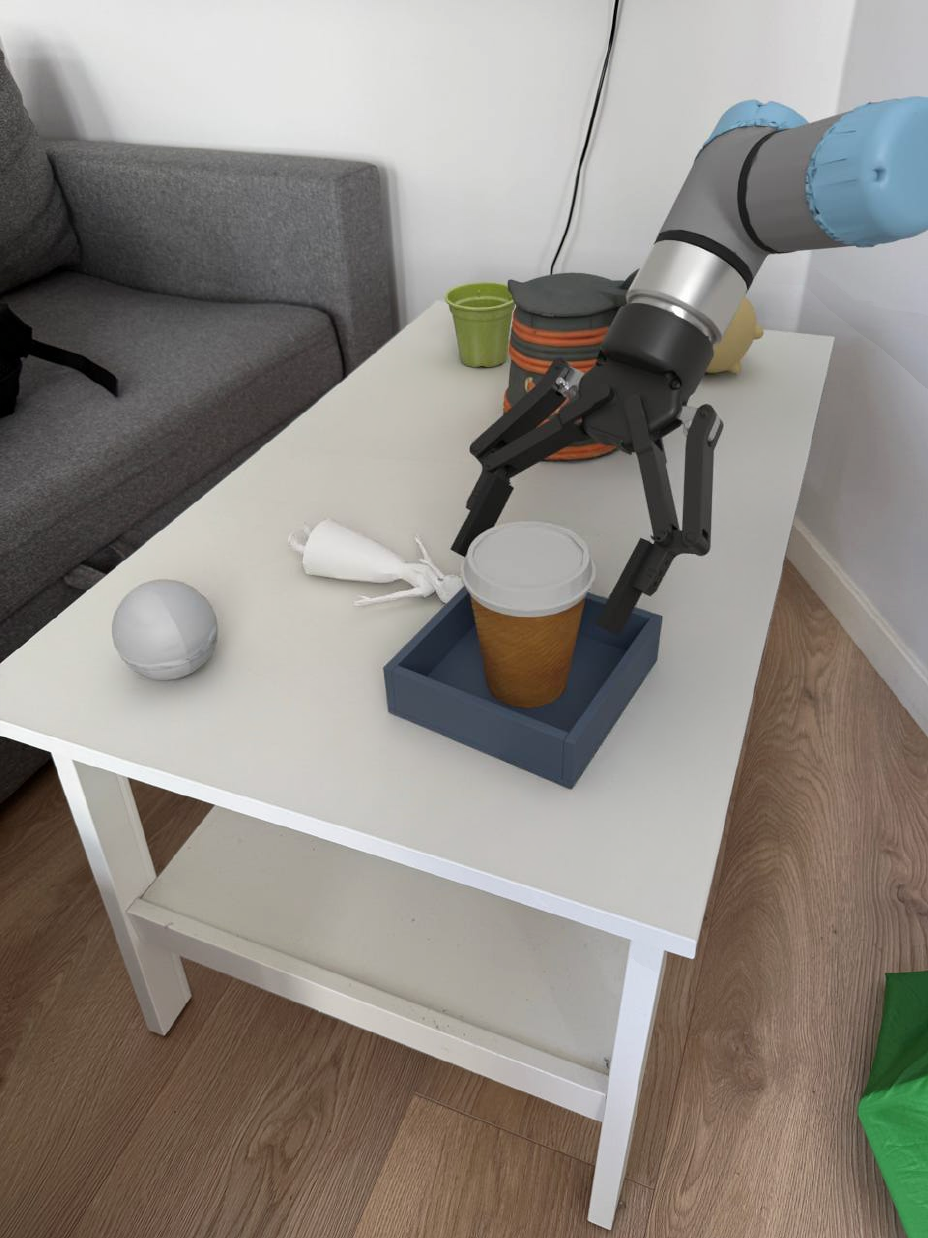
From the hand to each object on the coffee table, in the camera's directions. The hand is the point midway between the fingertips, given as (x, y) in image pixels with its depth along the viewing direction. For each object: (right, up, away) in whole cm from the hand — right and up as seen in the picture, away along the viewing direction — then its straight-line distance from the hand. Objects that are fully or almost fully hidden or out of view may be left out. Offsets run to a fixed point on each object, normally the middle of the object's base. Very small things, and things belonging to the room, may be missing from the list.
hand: (530, 591), depth 66 cm
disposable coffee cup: (0, -7, +6) cm, 9 cm away
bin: (0, -7, +6) cm, 9 cm away
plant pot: (-2, +32, +55) cm, 64 cm away
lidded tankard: (+9, +19, +38) cm, 43 cm away
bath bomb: (-28, -6, +9) cm, 30 cm away
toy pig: (+26, +30, +51) cm, 64 cm away
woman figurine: (-12, +1, +17) cm, 21 cm away
